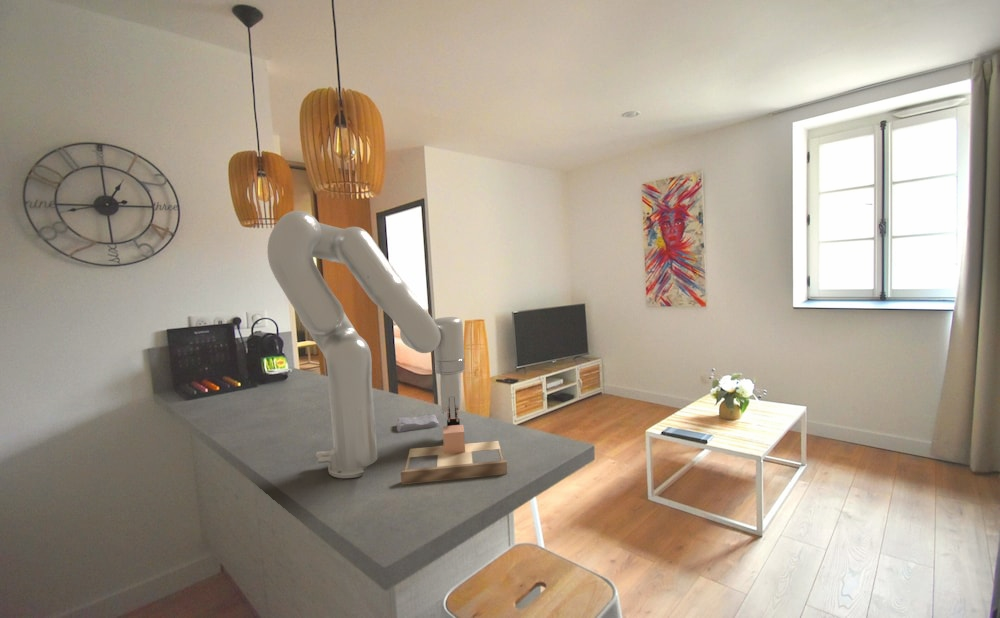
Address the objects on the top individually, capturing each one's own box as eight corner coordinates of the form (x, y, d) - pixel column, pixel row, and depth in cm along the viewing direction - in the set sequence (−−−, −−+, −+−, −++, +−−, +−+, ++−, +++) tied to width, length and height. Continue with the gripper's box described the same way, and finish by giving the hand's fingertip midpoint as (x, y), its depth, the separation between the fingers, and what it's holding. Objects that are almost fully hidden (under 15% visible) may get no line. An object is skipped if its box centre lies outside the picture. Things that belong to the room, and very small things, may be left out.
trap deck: (402, 490, 89) (400, 472, 89) (410, 454, 107) (409, 439, 107) (507, 480, 91) (506, 462, 91) (498, 446, 109) (497, 431, 109)
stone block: (395, 433, 127) (397, 438, 118) (395, 416, 128) (396, 420, 118) (436, 428, 131) (440, 433, 121) (435, 412, 131) (439, 416, 122)
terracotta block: (444, 454, 103) (442, 433, 102) (444, 445, 108) (443, 426, 107) (465, 452, 103) (464, 431, 103) (464, 443, 108) (463, 424, 108)
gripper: (436, 360, 117) (440, 426, 119) (434, 373, 102) (438, 448, 104) (463, 358, 118) (467, 424, 120) (465, 371, 103) (469, 445, 105)
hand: (454, 435), depth 112 cm, fingers closed
